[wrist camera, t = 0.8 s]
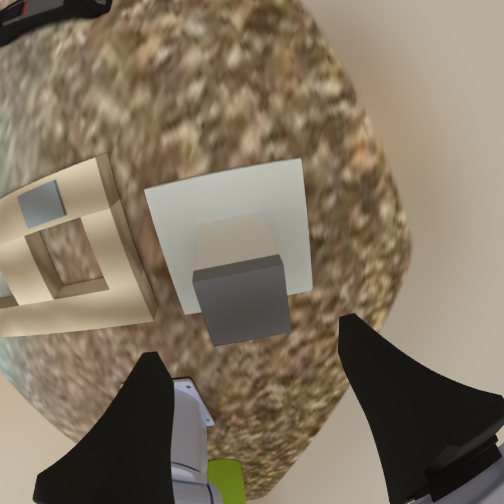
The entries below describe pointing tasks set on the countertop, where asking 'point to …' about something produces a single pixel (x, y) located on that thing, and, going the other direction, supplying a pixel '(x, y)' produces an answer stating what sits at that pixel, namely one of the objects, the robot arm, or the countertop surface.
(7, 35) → the electric trimmer
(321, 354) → the countertop surface
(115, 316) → the socket plate
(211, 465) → the soap dispenser
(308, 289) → the mat
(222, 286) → the peg
